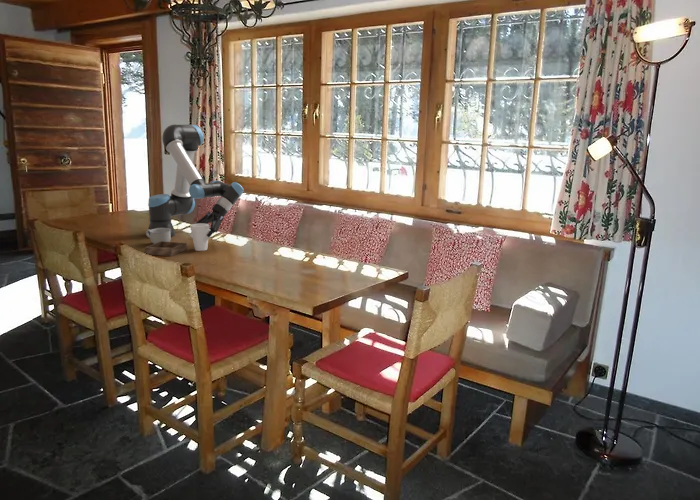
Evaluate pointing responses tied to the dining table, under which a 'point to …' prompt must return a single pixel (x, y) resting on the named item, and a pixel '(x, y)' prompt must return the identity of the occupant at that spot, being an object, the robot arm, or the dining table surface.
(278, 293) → the dining table surface
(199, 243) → the foam cup
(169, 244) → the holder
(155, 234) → the teacup
